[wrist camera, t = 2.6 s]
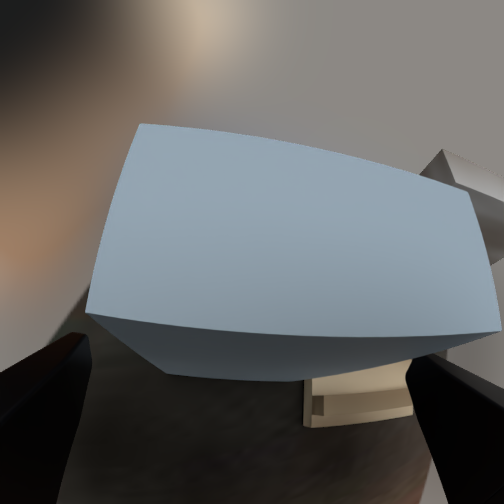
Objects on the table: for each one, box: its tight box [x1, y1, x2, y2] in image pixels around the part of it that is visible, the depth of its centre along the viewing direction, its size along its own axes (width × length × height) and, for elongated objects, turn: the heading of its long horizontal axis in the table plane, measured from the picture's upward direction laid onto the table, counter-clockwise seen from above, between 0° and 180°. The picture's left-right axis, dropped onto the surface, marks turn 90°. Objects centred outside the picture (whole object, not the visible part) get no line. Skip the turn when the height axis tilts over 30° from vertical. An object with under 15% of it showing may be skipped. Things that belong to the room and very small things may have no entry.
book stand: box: [303, 149, 504, 428], centre depth 12 cm, size 9×6×12 cm
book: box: [85, 124, 502, 382], centre depth 10 cm, size 3×6×13 cm, turn 88°
